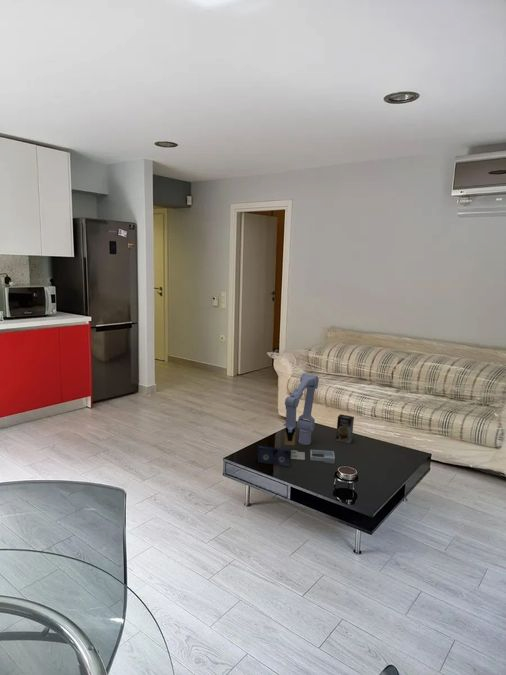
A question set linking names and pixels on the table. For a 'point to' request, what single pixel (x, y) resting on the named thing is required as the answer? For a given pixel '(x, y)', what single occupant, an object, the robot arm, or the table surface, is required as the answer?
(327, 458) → the parts tray
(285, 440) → the block
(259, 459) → the vhs cassette tape
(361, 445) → the table surface
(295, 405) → the robot arm
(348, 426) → the coffee box
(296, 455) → the box
